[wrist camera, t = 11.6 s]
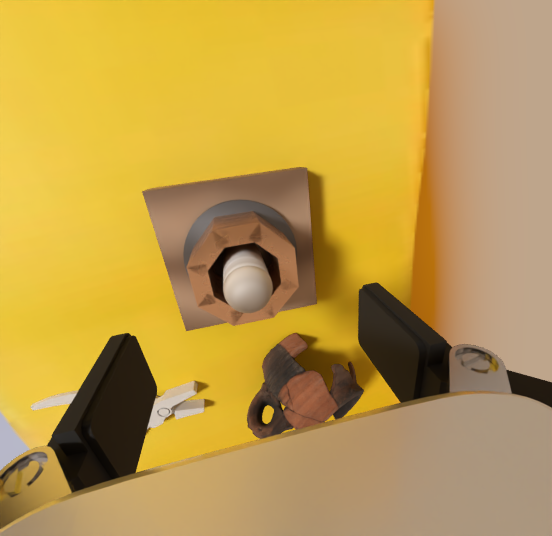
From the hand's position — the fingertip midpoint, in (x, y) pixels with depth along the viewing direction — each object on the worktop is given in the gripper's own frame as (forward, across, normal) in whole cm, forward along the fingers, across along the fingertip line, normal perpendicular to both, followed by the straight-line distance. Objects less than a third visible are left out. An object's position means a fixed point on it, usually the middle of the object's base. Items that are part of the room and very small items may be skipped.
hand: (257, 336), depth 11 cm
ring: (+11, 0, +1) cm, 11 cm away
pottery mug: (+13, -3, +16) cm, 21 cm away
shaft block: (+13, 0, +1) cm, 13 cm away
